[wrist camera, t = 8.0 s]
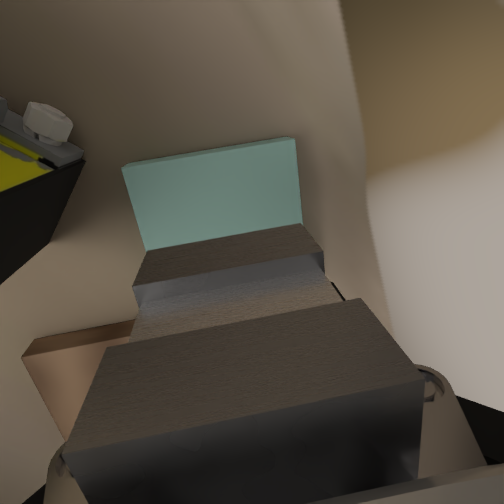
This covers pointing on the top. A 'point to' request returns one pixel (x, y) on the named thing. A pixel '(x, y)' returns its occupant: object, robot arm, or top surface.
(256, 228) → the stand
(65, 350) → the stand
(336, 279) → the top surface
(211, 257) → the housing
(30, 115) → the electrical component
